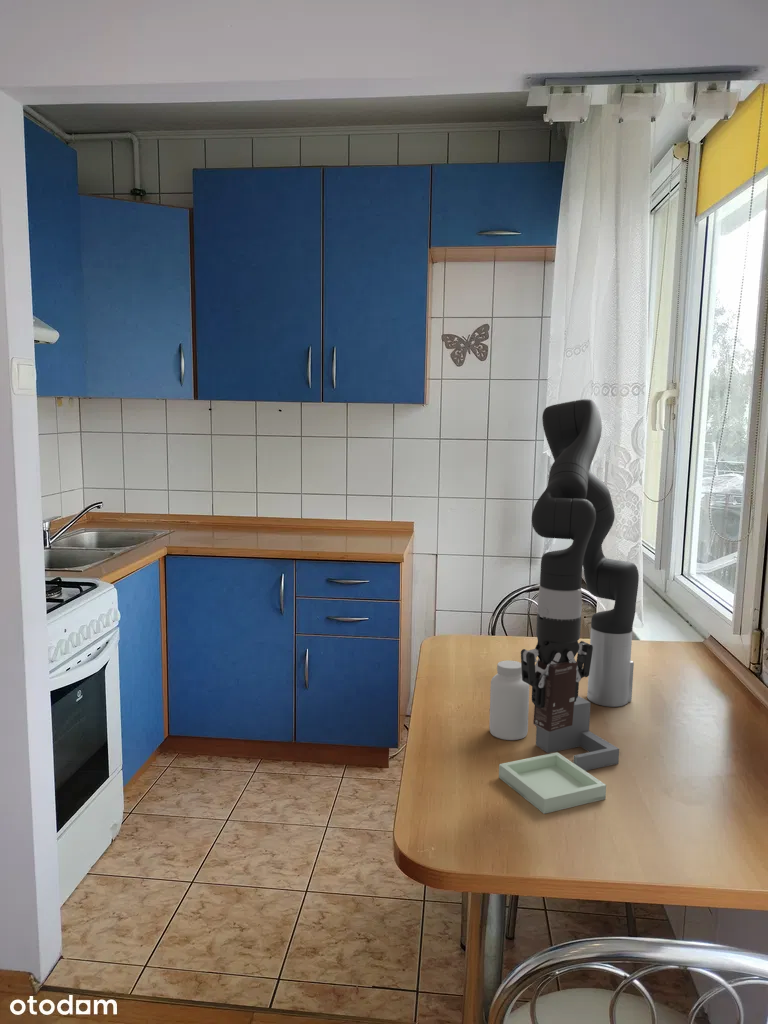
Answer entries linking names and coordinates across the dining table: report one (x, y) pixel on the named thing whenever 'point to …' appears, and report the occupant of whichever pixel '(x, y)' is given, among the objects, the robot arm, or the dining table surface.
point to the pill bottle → (509, 702)
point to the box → (557, 697)
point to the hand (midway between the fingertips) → (554, 703)
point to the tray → (552, 782)
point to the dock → (579, 740)
